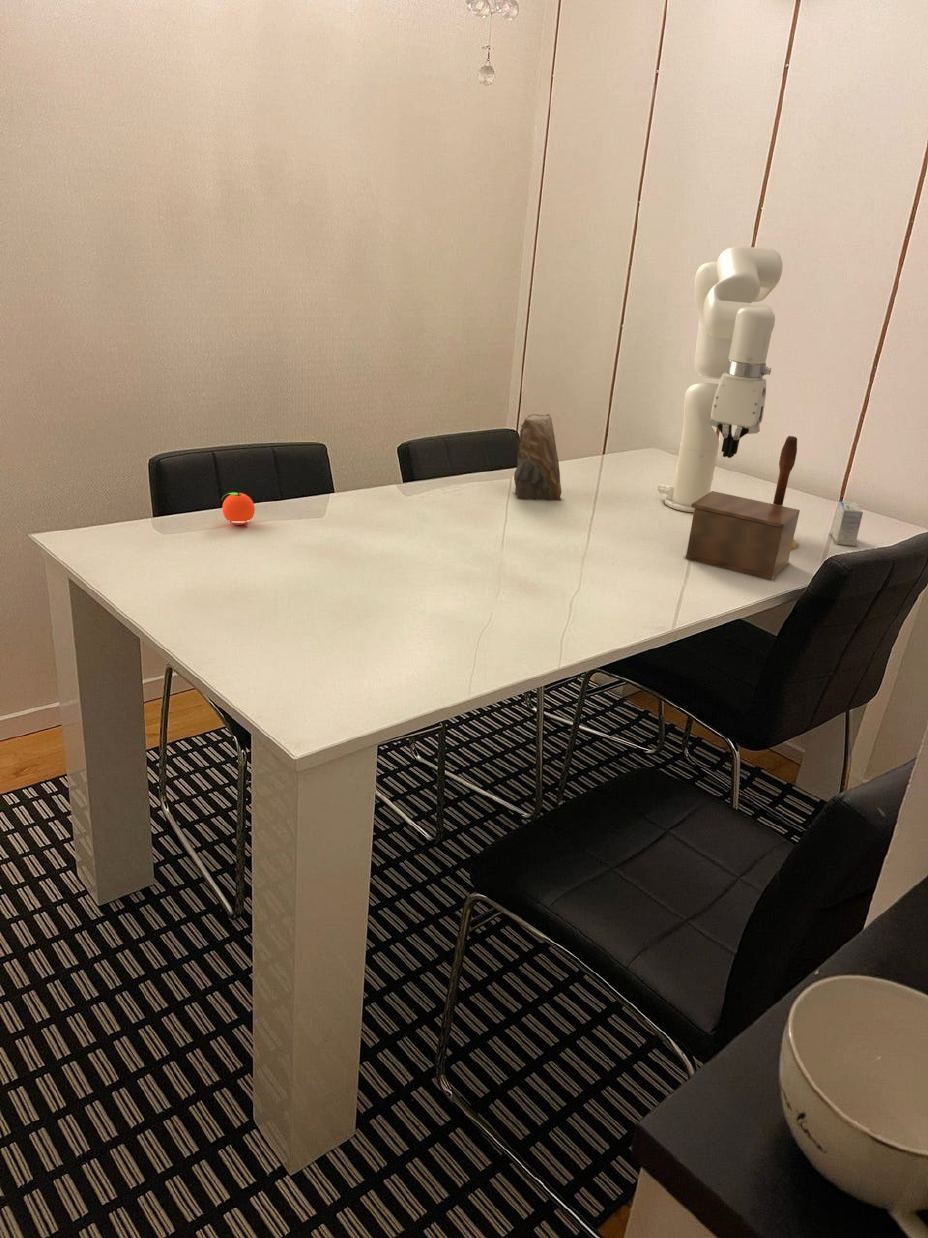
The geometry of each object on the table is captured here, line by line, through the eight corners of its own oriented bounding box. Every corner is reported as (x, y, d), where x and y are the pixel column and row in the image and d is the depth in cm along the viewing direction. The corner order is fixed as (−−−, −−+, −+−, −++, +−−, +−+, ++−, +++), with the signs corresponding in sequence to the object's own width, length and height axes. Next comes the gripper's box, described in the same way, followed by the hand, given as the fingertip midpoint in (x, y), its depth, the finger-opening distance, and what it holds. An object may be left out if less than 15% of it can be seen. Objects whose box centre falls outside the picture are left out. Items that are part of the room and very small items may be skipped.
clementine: (212, 524, 204) (210, 492, 201) (230, 516, 210) (229, 485, 207) (243, 531, 201) (242, 499, 198) (261, 522, 207) (260, 491, 204)
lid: (691, 507, 202) (691, 503, 202) (711, 494, 213) (712, 490, 213) (782, 528, 193) (783, 524, 193) (799, 513, 204) (800, 509, 204)
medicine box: (855, 546, 223) (864, 511, 220) (835, 544, 224) (844, 509, 220) (849, 536, 230) (857, 502, 227) (830, 534, 231) (838, 500, 228)
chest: (685, 558, 206) (694, 508, 202) (705, 543, 217) (714, 495, 213) (771, 580, 198) (782, 528, 193) (787, 562, 209) (799, 513, 204)
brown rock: (514, 499, 238) (521, 421, 230) (504, 485, 250) (511, 410, 242) (561, 500, 241) (571, 423, 233) (550, 486, 252) (558, 412, 244)
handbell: (759, 529, 230) (780, 428, 220) (806, 543, 223) (830, 439, 212) (733, 538, 222) (754, 434, 212) (780, 553, 214) (804, 445, 204)
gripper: (785, 373, 194) (767, 459, 202) (715, 362, 201) (700, 446, 209) (776, 377, 188) (757, 466, 196) (704, 366, 195) (689, 452, 203)
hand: (728, 456), depth 202 cm, fingers closed
